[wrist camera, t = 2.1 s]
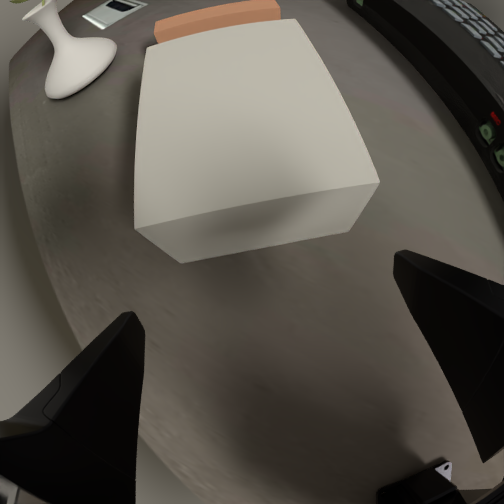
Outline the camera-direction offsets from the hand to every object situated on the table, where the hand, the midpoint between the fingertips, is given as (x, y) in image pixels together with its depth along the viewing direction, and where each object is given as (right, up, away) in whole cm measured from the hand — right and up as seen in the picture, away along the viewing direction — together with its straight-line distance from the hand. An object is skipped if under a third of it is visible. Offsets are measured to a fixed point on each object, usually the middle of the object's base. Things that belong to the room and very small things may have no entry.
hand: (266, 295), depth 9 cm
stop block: (-4, +25, +17) cm, 31 cm away
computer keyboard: (+33, +22, +14) cm, 42 cm away
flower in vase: (-22, +26, +20) cm, 39 cm away
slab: (-1, +9, +13) cm, 16 cm away
